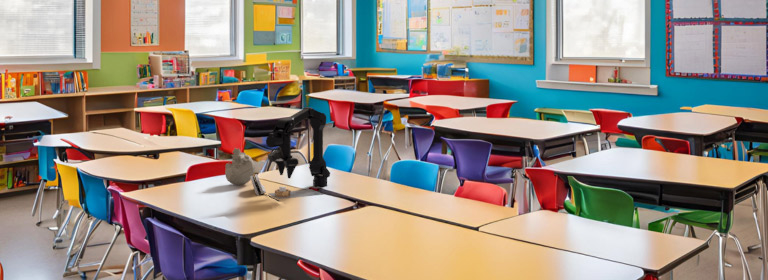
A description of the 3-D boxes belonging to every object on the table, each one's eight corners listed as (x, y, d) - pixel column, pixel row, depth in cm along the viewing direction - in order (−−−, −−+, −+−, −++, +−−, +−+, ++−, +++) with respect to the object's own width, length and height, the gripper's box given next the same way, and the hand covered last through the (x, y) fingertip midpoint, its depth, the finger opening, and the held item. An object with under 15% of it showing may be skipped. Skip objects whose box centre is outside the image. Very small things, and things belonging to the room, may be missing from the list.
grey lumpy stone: (222, 184, 379) (222, 147, 377) (248, 181, 388) (248, 145, 385) (232, 188, 369) (232, 150, 366) (258, 185, 378) (258, 148, 375)
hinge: (266, 195, 355) (259, 176, 353) (257, 198, 354) (250, 179, 352) (265, 188, 371) (258, 170, 369) (256, 191, 370) (249, 173, 368)
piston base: (311, 191, 365) (311, 181, 364) (324, 196, 353) (324, 186, 352) (267, 196, 352) (267, 185, 352) (278, 201, 341) (278, 190, 340)
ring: (286, 193, 354) (286, 188, 354) (292, 195, 348) (292, 191, 348) (273, 194, 350) (273, 189, 350) (278, 197, 344) (278, 192, 344)
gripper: (261, 143, 352) (262, 175, 354) (277, 149, 336) (277, 181, 339) (282, 142, 358) (283, 173, 360) (298, 147, 342) (299, 179, 344)
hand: (285, 176), depth 351 cm, fingers open, 9 cm apart
